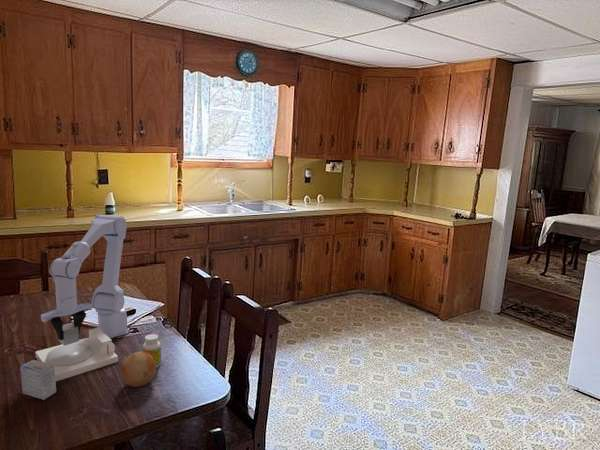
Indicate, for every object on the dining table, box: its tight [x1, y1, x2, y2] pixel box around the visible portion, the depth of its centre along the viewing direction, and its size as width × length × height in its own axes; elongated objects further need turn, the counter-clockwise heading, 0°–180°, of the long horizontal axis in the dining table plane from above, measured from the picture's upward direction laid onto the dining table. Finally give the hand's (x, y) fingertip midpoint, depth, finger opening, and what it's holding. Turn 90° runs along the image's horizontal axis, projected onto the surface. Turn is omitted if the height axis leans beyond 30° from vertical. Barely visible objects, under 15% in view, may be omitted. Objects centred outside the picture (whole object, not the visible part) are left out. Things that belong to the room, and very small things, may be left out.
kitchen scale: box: [35, 327, 119, 382], centre depth 141 cm, size 19×19×6 cm
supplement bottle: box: [142, 333, 162, 368], centre depth 140 cm, size 5×5×10 cm
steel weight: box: [58, 322, 80, 346], centre depth 138 cm, size 4×4×5 cm
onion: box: [120, 350, 157, 388], centre depth 129 cm, size 10×10×10 cm
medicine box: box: [19, 359, 57, 401], centre depth 122 cm, size 8×4×9 cm, turn 71°
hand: (68, 336), depth 138 cm, fingers closed on steel weight, 4 cm apart
